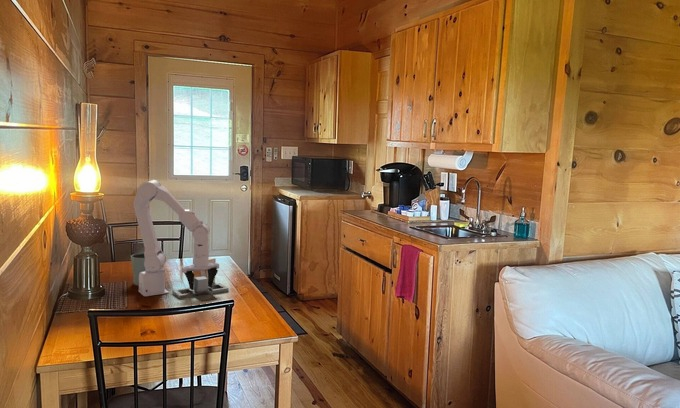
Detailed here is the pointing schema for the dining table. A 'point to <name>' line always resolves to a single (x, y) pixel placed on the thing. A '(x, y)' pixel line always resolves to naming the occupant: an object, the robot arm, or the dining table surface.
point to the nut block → (200, 284)
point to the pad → (206, 297)
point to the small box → (204, 272)
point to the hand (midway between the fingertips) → (200, 287)
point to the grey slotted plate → (193, 293)
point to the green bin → (137, 266)
